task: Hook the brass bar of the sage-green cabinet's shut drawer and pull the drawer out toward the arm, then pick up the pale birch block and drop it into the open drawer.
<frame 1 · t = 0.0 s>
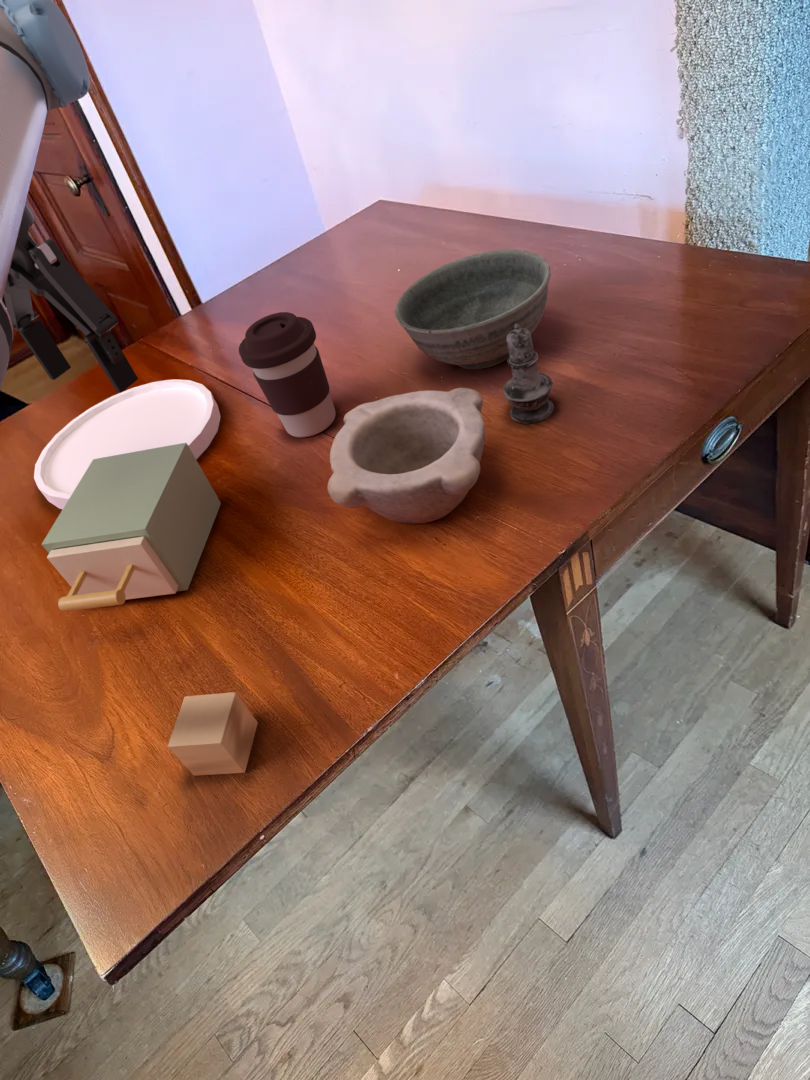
hand: (93, 379, 88), 18 cm above the table, tool pointing down, fingers open, 13 cm apart
mortar: (425, 499, 85), on the table
salt shaker: (532, 412, 91), on the table
drawer: (125, 548, 85), point 5 cm above the table, slide at 0.0 cm, touching cabinet
bowl: (484, 353, 104), on the table
cabinet: (158, 551, 91), on the table
coffee cup: (312, 423, 103), on the table
plate: (133, 448, 111), on the table
block: (226, 748, 67), on the table
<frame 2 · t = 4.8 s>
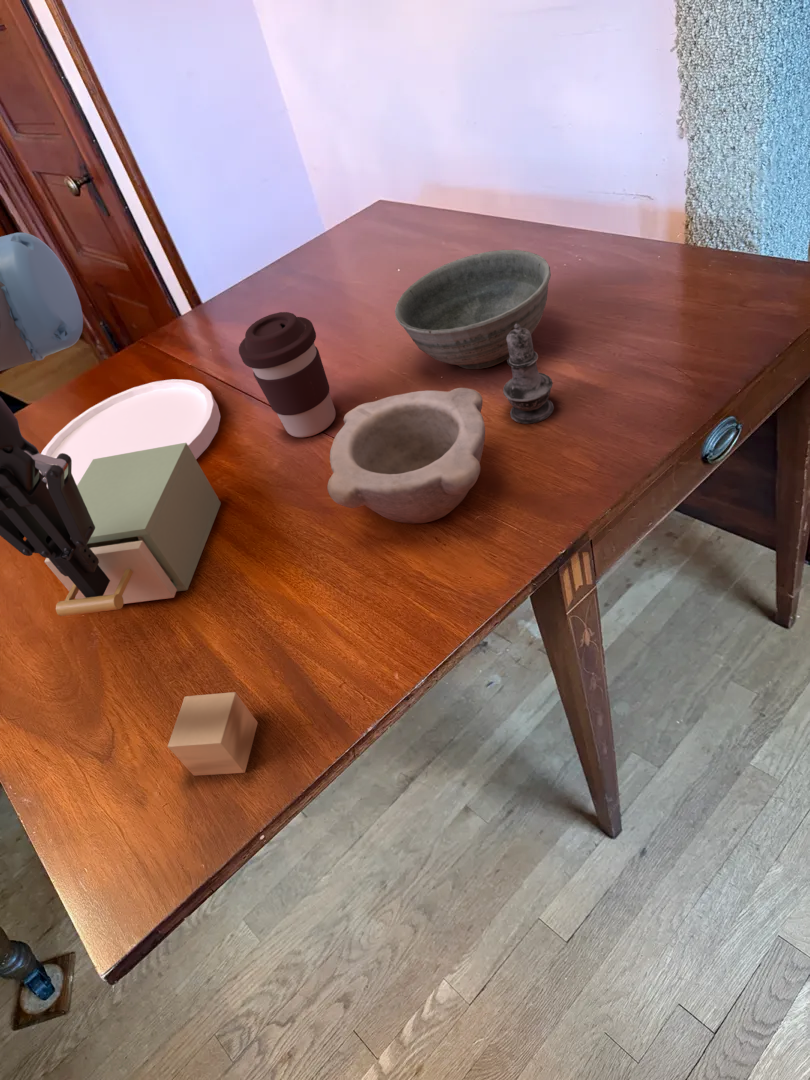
hand: (99, 590, 79), 6 cm above the table, tool pointing down, fingers closed
drawer: (123, 552, 84), point 5 cm above the table, slide at 0.6 cm, touching gripper
everything else where it was.
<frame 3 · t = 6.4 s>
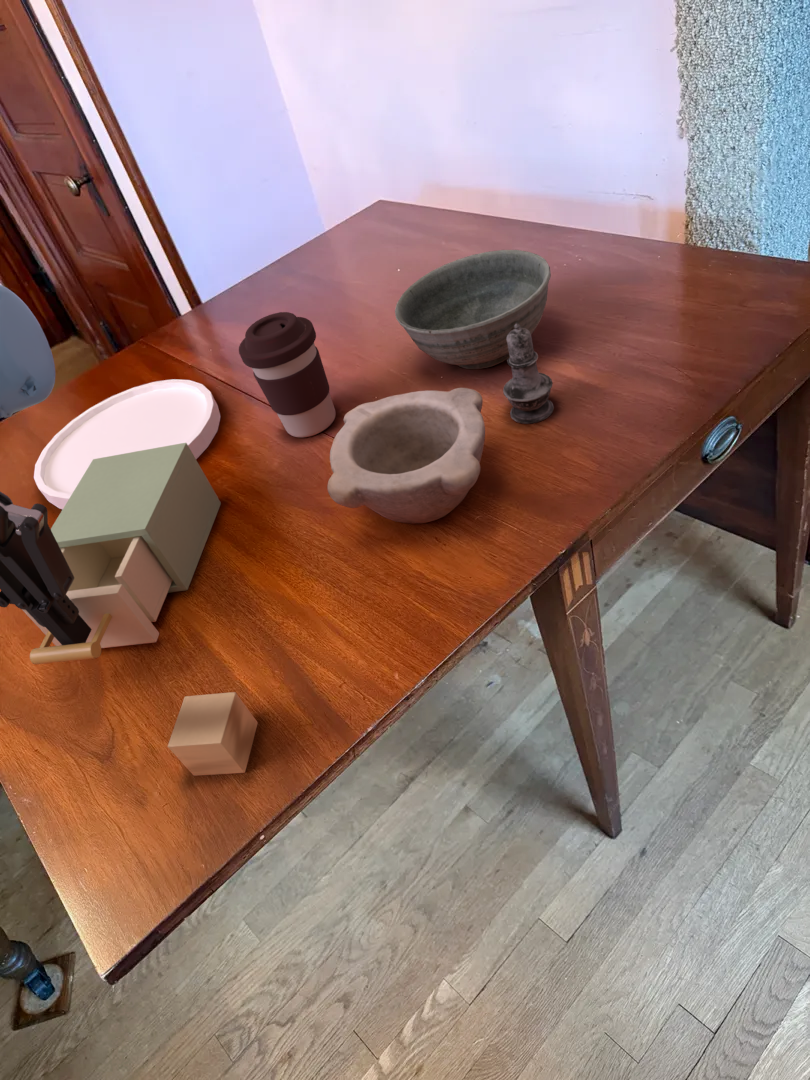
hand: (80, 640, 75), 5 cm above the table, tool pointing down, fingers closed
drawer: (103, 593, 80), point 5 cm above the table, slide at 6.8 cm
everything else where it was.
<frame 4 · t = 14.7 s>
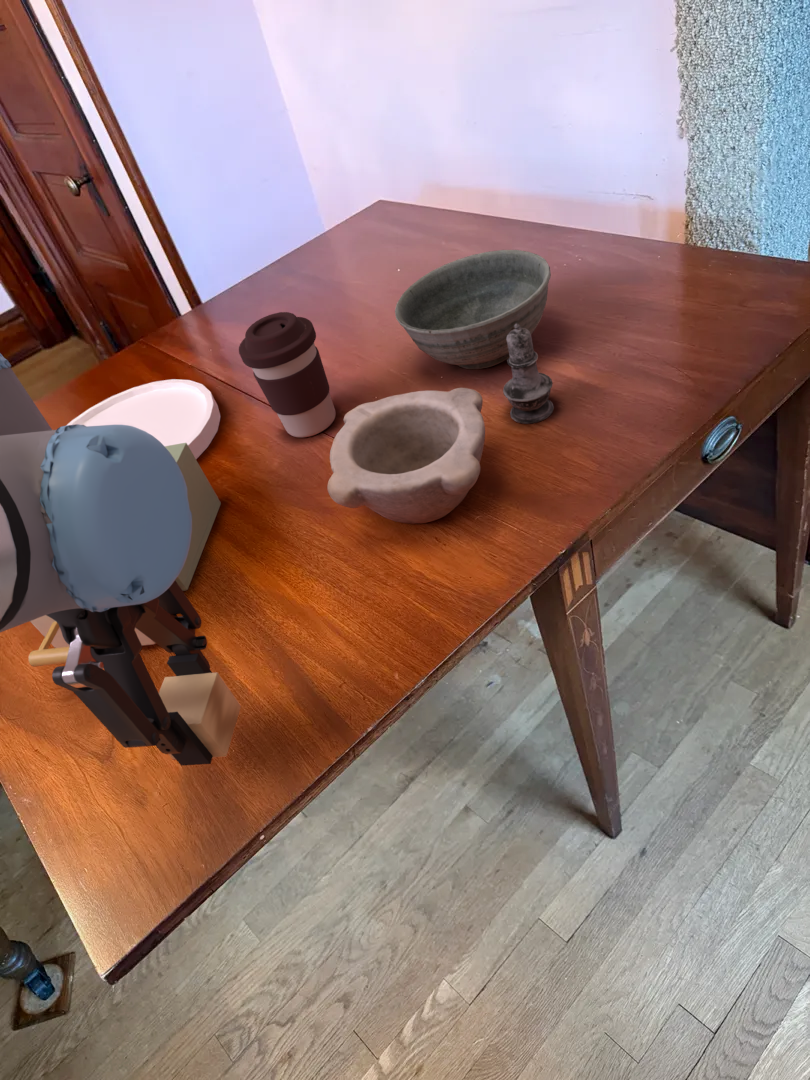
hand: (206, 730, 64), 4 cm above the table, tool pointing down, fingers closed on block, 5 cm apart
block: (208, 732, 64), point 3 cm above the table, touching gripper
everything else where it was.
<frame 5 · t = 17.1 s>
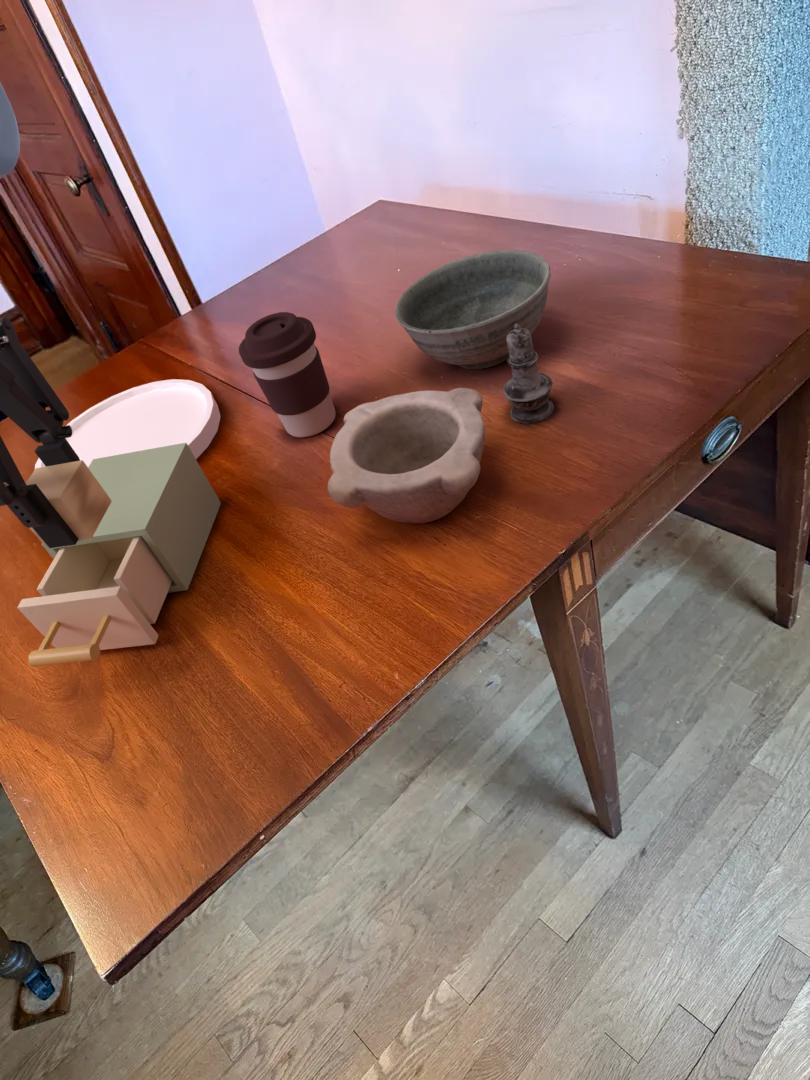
hand: (76, 520, 68), 17 cm above the table, tool pointing down, fingers closed on block, 5 cm apart
block: (78, 523, 68), point 17 cm above the table, touching gripper
everything else where it was.
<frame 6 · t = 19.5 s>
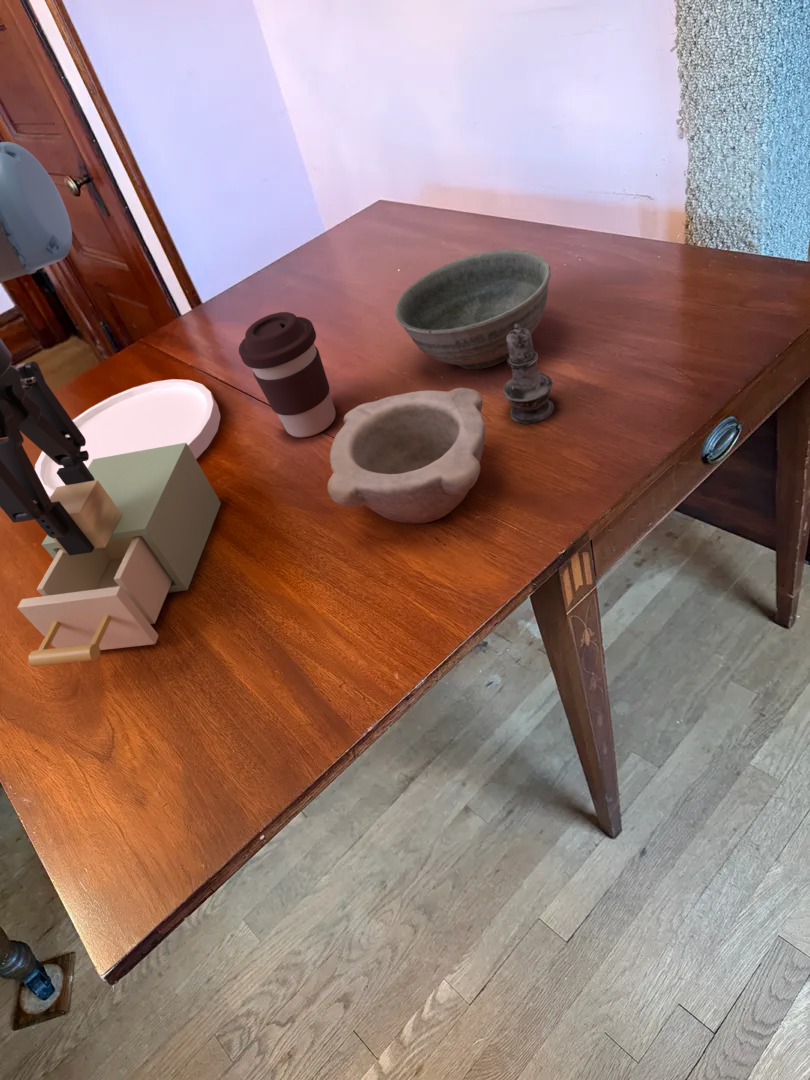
hand: (92, 531, 79), 10 cm above the table, tool pointing down, fingers closed on block, 5 cm apart
block: (93, 533, 80), point 10 cm above the table, touching gripper
everything else where it was.
when the fingers open (10 cm above the table, at t = 19.8 s): block stays where it is, resting on cabinet.
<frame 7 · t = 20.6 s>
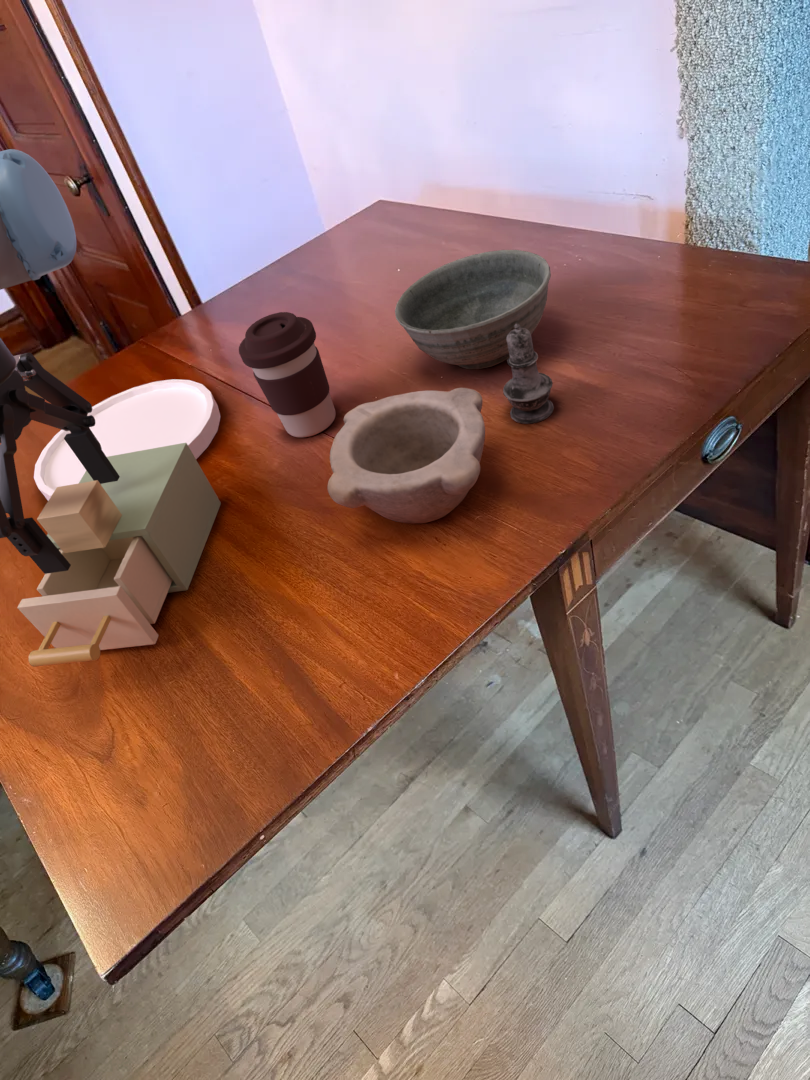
hand: (84, 522, 78), 12 cm above the table, tool pointing down, fingers open, 13 cm apart
block: (93, 533, 80), point 10 cm above the table, touching cabinet
everything else where it was.
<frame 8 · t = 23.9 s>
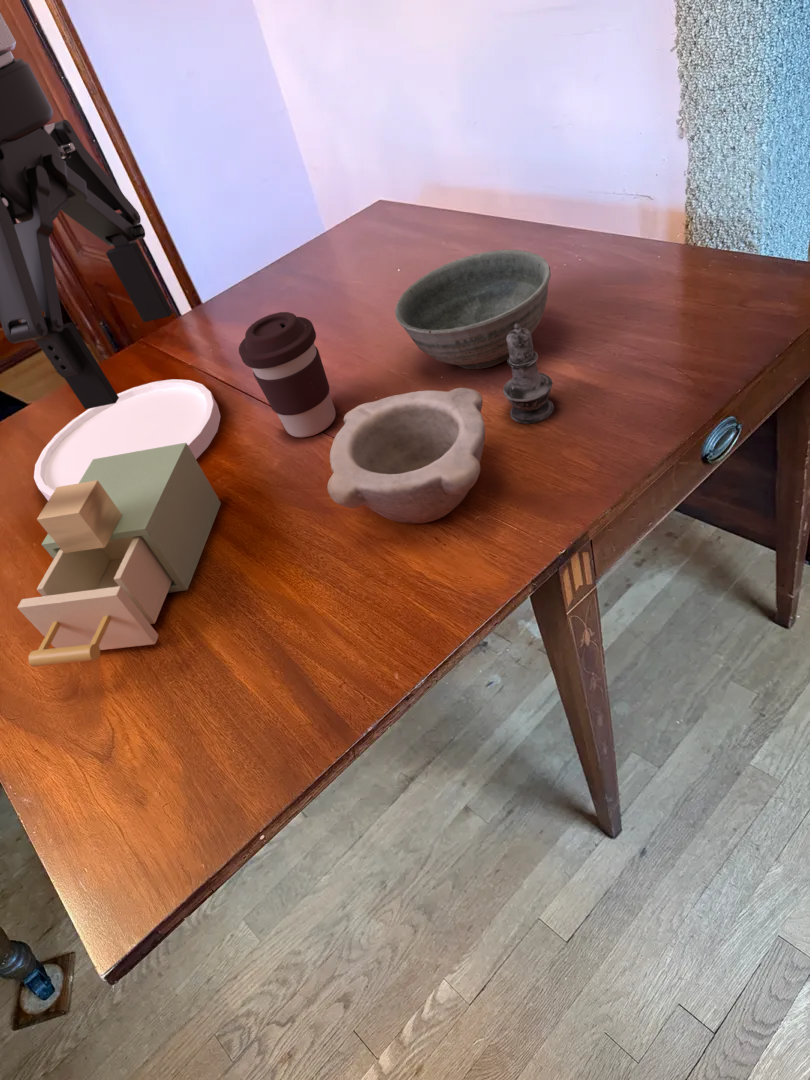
hand: (132, 357, 62), 29 cm above the table, tool pointing down, fingers open, 13 cm apart
nothing on the table moved.
at the end: drawer slide at 7.1 cm; block inside the target area in the drawer (1.0 cm from its centre), point 9.8 cm above the cabinet's base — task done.
